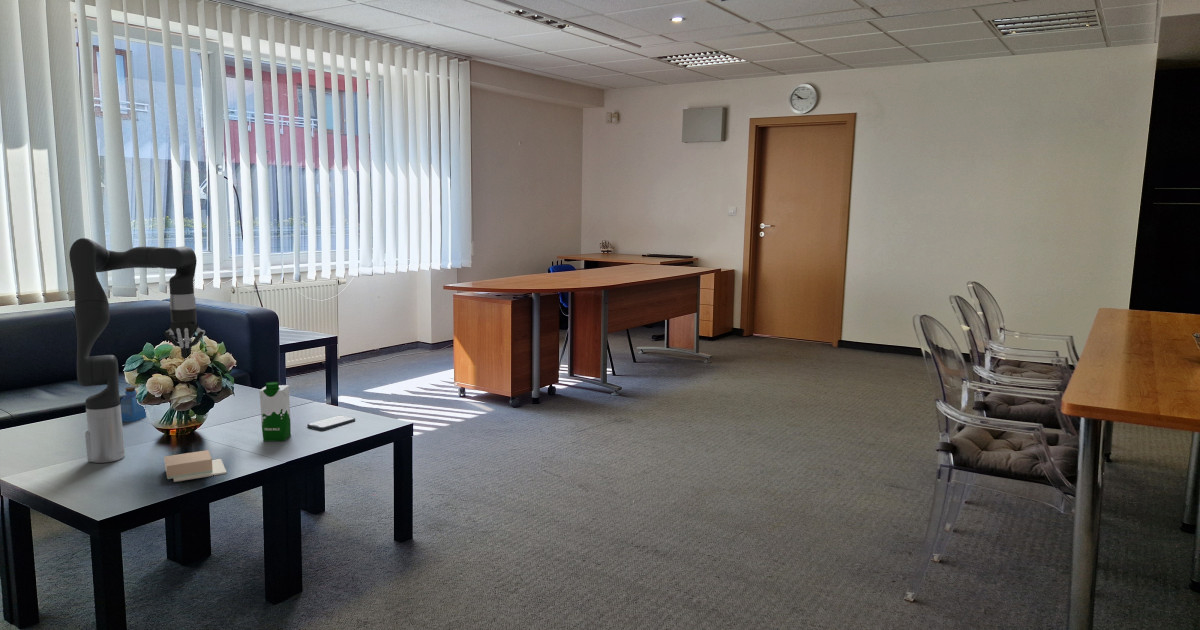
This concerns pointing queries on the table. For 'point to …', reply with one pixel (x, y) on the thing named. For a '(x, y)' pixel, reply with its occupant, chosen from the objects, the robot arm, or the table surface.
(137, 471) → the table surface
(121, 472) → the table surface
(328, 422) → the phone case
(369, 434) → the table surface
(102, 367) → the robot arm
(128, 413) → the perfume bottle
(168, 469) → the beige rectangular block
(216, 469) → the felt mat
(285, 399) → the milk carton
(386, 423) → the table surface
